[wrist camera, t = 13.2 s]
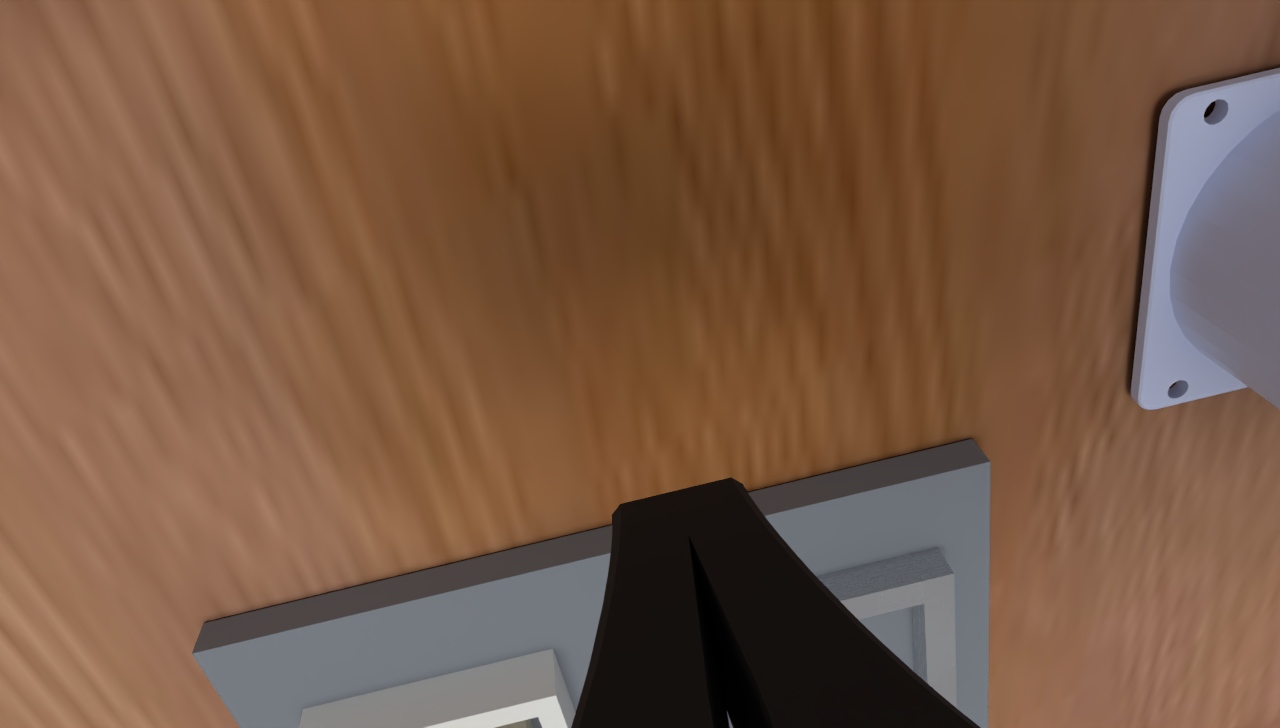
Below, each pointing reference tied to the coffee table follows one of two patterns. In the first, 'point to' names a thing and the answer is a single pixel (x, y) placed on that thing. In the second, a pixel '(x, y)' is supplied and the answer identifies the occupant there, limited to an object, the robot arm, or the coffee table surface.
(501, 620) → the panel plate
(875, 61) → the coffee table surface
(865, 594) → the frame
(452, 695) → the port
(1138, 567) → the coffee table surface
